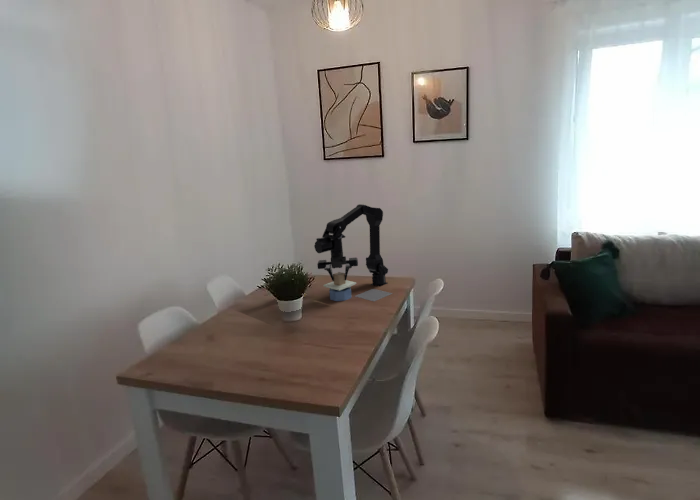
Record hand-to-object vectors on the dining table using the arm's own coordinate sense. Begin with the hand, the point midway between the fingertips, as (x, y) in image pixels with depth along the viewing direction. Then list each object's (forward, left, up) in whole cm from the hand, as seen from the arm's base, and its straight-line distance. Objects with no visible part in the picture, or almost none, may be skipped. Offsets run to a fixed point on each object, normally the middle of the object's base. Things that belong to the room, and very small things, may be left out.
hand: (339, 280), depth 216 cm
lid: (0, 0, -2) cm, 2 cm away
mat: (-11, +11, -9) cm, 18 cm away
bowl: (0, 0, -9) cm, 9 cm away
